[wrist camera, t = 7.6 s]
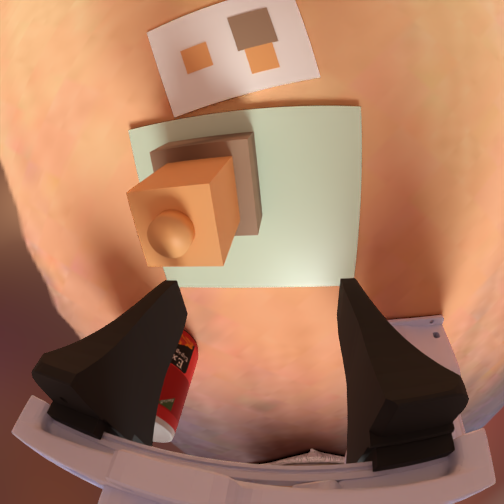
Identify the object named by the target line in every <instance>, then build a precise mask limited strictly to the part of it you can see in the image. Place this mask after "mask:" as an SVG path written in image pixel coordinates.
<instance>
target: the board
mask: <svg viewBox="0 0 504 504" xmlns="http://www.w3.org/2000/svg"><path fill="white" fill-rule="evenodd" d="M128 131H129V136H130V141H131V146H132V151H133V155H134V160H135V165H136V169H137V174H138V178H139V182H141V181H143V180H144V179H146V178H147V177H148V176H150V175H151V174H153V173H154V172H153V167H152V162H151V157H150V152H151V151H153V150H154V149H156V148H158V147H160V146H162V145H164V144H166V143H168V142H174V141H180V140H186V139H193V138H200V137H207V136H215V135H224V134H233V133H243V132H254V137H255V147H256V156H257V166H258V175H259V185H260V195H261V205H262V220H261V224H260V229H259V233H258V235H247V236H234V239H233V241H232V244H231V247H230V250H229V252H228V255H227V258H226V261H225V263H224V266H197V267H163V269H164V272H165V275H166V278H167V280H177V282H178V286H179V287H222V288H248V287H316V286H340V279H341V278H354V274H355V265H356V256H357V245H358V233H359V219H360V202H361V176H362V123H361V106H288V107H271V108H258V109H247V110H238V111H229V112H221V113H214V114H207V115H200V116H194V117H188V118H182V119H177V120H172V121H167V122H162V123H157V124H152V125H148V126H143V127H139V128H135V129H131V130H128Z"/></svg>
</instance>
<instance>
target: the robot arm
mask: <svg viewBox="0 0 504 504" xmlns="http://www.w3.org/2000/svg"><path fill="white" fill-rule="evenodd" d="M186 318H187V311H186V307H185V304H184V301H183V298H182V295H181V292H180V289H179V286H178V282H177V280H165V281H164V282H162V283H161V284H159V285H158V286H157V287H156V288H154V289H153V290H152V291H151V292H150V293H148V294H147V295H146V296H145V297H144V298H142V299H141V300H140V301H139V302H137V303H136V304H135V305H134V306H133V307H131V308H130V309H129V310H127V311H126V312H125V313H123V314H122V315H121V316H119V317H118V318H117V319H115V320H114V321H112V322H111V323H109V324H108V325H106V326H105V327H103V328H102V329H100V330H98V331H96V332H95V333H93V334H91V335H89V336H87V337H85V338H83V339H81V340H79V341H77V342H75V343H73V344H70V345H68V346H66V347H63V348H60V349H57V350H54V351H51V352H48V353H44V354H43V355H42V357H41V358H40V360H39V361H38V363H37V364H36V366H35V367H34V369H33V370H32V376H33V379H34V380H35V382H36V383H37V384H38V385H39V386H40V387H41V389H42V390H43V391H44V392H45V393H46V394H47V395H48V396H49V397H50V398H51V399H52V400H53V402H52V404H51V405H49V404H48V403H47V402H45V401H43V400H41V399H39V398H37V397H35V396H31V397H30V399H29V400H28V402H27V404H26V406H25V407H24V409H23V411H22V413H21V415H20V416H19V418H18V420H17V422H16V424H15V426H14V428H13V430H12V434H14V435H15V436H16V437H17V438H19V439H20V440H21V441H22V442H24V443H25V444H26V445H28V446H29V447H30V448H32V449H33V450H35V451H36V452H37V453H39V454H40V455H41V456H43V457H45V458H46V459H48V460H49V461H51V462H53V463H54V464H56V465H58V466H60V467H61V468H63V469H65V470H67V471H69V472H70V473H72V474H74V475H76V476H78V477H80V478H82V479H83V480H85V481H87V482H89V483H91V484H93V485H95V486H98V487H100V488H102V489H103V490H102V493H101V496H100V499H99V502H98V504H453V503H456V502H459V501H461V500H464V499H466V498H468V497H470V496H472V495H474V494H476V493H478V492H480V491H482V490H484V489H486V488H488V487H489V486H491V485H493V484H494V483H495V476H494V469H493V464H492V459H491V454H490V450H489V445H488V441H487V436H486V433H485V429H483V428H482V429H479V430H476V431H473V432H470V433H467V434H466V433H465V429H464V426H463V422H462V419H461V415H460V413H461V412H462V411H463V410H464V408H465V407H466V405H467V403H468V400H469V398H468V395H467V392H466V388H465V385H464V383H463V381H462V378H461V374H460V369H459V365H458V362H457V360H456V357H455V354H454V352H453V349H452V347H451V345H450V342H449V340H448V337H447V335H446V333H445V330H444V328H443V326H442V323H443V321H444V318H443V316H442V315H435V316H426V317H416V318H405V319H393V320H387V319H386V318H385V317H384V316H383V315H382V314H381V312H380V311H379V310H378V309H377V307H376V306H375V305H374V304H373V302H372V301H371V300H370V299H369V297H368V296H367V294H366V293H365V292H364V290H363V289H362V287H361V286H360V285H359V283H358V282H357V280H356V279H355V278H341V279H340V289H339V300H338V310H337V321H338V335H339V341H340V346H341V352H342V357H343V363H344V369H345V375H346V383H347V406H348V431H347V450H346V454H345V460H344V464H337V465H315V466H285V465H263V464H249V463H239V462H230V461H222V460H215V459H209V458H202V457H197V456H191V455H186V454H181V453H176V452H171V451H167V450H163V449H159V448H155V447H152V443H153V434H154V426H155V420H156V414H157V408H158V404H159V399H160V395H161V391H162V387H163V383H164V379H165V376H166V373H167V370H168V368H169V365H170V363H171V360H172V358H173V355H174V353H175V351H176V348H177V346H178V343H179V341H180V338H181V336H182V333H183V330H184V326H185V322H186ZM272 485H275V486H272ZM281 486H292V487H281Z"/></svg>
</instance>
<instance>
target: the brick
mask: <svg viewBox="0 0 504 504" xmlns="http://www.w3.org/2000/svg"><path fill="white" fill-rule="evenodd" d="M126 194H127V198H128V202H129V205H130V209H131V213H132V216H133V220H134V223H135V227H136V230H137V233H138V237H139V240H140V243H141V247H142V250H143V253H144V256H145V259H146V262H147V265H148V267H197V266H224V263H225V261H226V258H227V255H228V252H229V250H230V247H231V244H232V241H233V239H234V236H235V233H236V230H237V228H238V225H239V222H240V213H239V205H238V197H237V189H236V182H235V174H234V166H233V158H232V156H225V157H215V158H205V159H197V160H188V161H180V162H173V163H167V164H165V165H164V166H163V167H161V168H160V169H158V170H157V171H155V172H154V173H153V174H151V175H150V176H148V177H147V178H146V179H144V180H143V181H141V182H140V183H139V184H137V185H136V186H135V187H133V188H132V189H131V190H129V191H128V192H127V193H126Z"/></svg>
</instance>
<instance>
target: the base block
mask: <svg viewBox="0 0 504 504" xmlns="http://www.w3.org/2000/svg"><path fill="white" fill-rule="evenodd" d="M225 156H232V158H233V166H234V174H235V182H236V189H237V197H238V205H239V213H240V222H239V225H238V228H237V230H236V233H235V236H247V235H258V233H259V229H260V224H261V220H262V205H261V195H260V185H259V175H258V166H257V156H256V147H255V137H254V132H243V133H233V134H224V135H215V136H207V137H200V138H193V139H186V140H180V141H174V142H168V143H166V144H164V145H162V146H160V147H158V148H156V149H154V150H153V151H151V152H150V157H151V162H152V167H153V172H155V171H157V170H158V169H160V168H161V167H163V166H164V165H165V164H167V163H173V162H180V161H188V160H197V159H205V158H215V157H225Z"/></svg>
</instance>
